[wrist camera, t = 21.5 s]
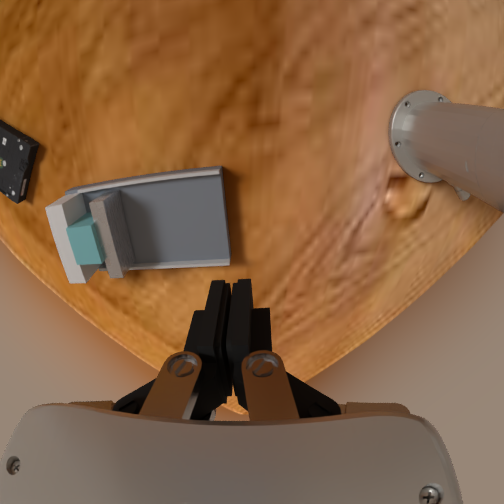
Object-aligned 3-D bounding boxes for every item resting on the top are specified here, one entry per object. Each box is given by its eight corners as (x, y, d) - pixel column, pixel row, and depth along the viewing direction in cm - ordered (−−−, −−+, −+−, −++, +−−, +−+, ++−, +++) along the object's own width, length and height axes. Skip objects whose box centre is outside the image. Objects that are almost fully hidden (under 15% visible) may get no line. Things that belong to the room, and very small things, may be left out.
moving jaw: (119, 189, 34) (102, 200, 30) (135, 260, 38) (123, 277, 34) (105, 191, 34) (89, 202, 30) (123, 261, 38) (110, 278, 34)
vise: (221, 165, 34) (213, 178, 28) (231, 254, 40) (226, 282, 34) (72, 187, 35) (44, 203, 29) (92, 261, 41) (70, 286, 35)
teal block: (110, 209, 35) (90, 225, 30) (119, 243, 37) (101, 263, 32) (86, 212, 35) (65, 228, 30) (95, 245, 37) (77, 264, 32)
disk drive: (42, 141, 33) (-9, 112, 29) (31, 144, 30) (-19, 115, 27) (28, 199, 37) (-20, 166, 33) (17, 205, 34) (-30, 170, 31)
